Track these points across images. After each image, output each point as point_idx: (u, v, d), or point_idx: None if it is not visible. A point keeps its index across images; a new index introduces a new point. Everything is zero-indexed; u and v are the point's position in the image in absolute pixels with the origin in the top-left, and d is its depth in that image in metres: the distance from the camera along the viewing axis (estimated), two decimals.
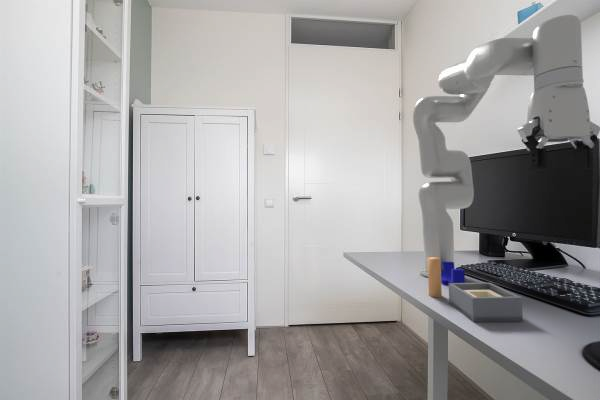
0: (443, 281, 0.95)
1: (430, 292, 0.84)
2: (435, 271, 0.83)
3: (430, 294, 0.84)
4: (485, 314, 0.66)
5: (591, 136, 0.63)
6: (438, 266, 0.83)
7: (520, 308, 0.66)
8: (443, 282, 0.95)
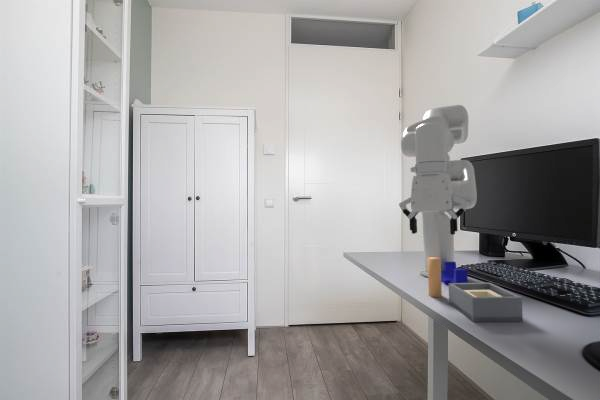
0: (445, 281, 0.95)
1: (430, 292, 0.84)
2: (435, 271, 0.83)
3: (430, 294, 0.84)
4: (485, 314, 0.66)
5: (407, 210, 0.89)
6: (438, 266, 0.83)
7: (520, 308, 0.66)
8: (445, 282, 0.95)
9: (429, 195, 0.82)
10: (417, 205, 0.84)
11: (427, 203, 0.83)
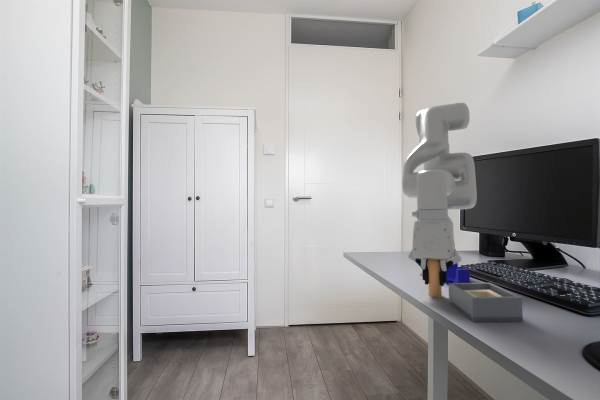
0: (447, 281, 0.95)
1: (430, 292, 0.84)
2: (435, 271, 0.83)
3: (430, 294, 0.84)
4: (485, 314, 0.66)
5: (420, 259, 0.87)
6: (438, 266, 0.83)
7: (520, 308, 0.66)
8: (447, 282, 0.95)
9: (430, 243, 0.83)
10: (419, 251, 0.84)
11: (429, 250, 0.83)
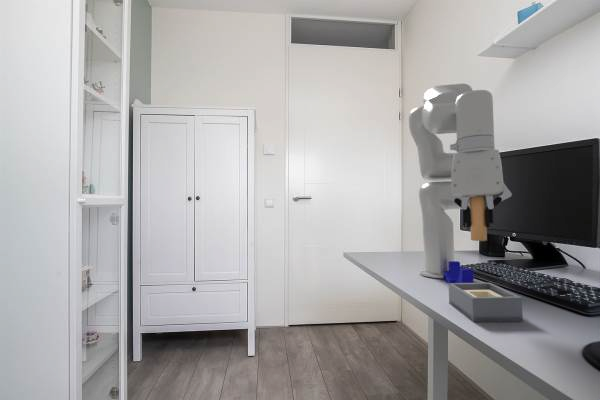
0: (450, 281, 0.95)
1: (473, 235, 0.71)
2: (480, 210, 0.70)
3: (473, 238, 0.71)
4: (485, 314, 0.66)
5: (460, 199, 0.75)
6: (483, 204, 0.71)
7: (520, 308, 0.66)
8: (450, 282, 0.95)
9: (474, 176, 0.70)
10: (460, 188, 0.72)
11: (472, 185, 0.70)
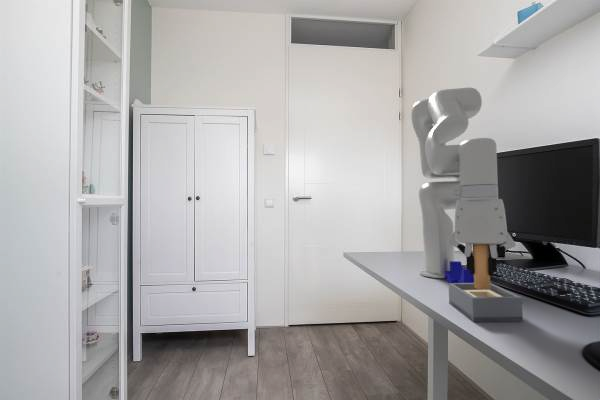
0: (452, 281, 0.95)
1: (476, 283, 0.71)
2: (483, 258, 0.70)
3: (476, 286, 0.71)
4: (485, 314, 0.66)
5: (463, 245, 0.74)
6: (486, 252, 0.70)
7: (520, 308, 0.66)
8: (452, 282, 0.95)
9: (478, 224, 0.69)
10: (463, 235, 0.71)
11: (476, 234, 0.70)
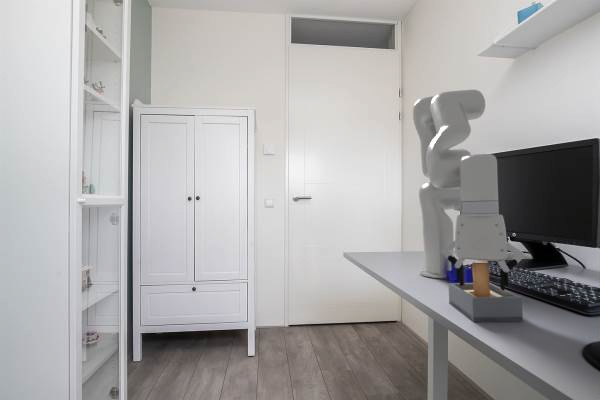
0: (454, 281, 0.95)
1: None
2: (483, 278, 0.70)
3: None
4: (485, 314, 0.66)
5: (453, 256, 0.75)
6: (486, 272, 0.70)
7: (520, 308, 0.66)
8: (454, 282, 0.95)
9: (478, 240, 0.70)
10: (463, 251, 0.71)
11: (476, 250, 0.70)
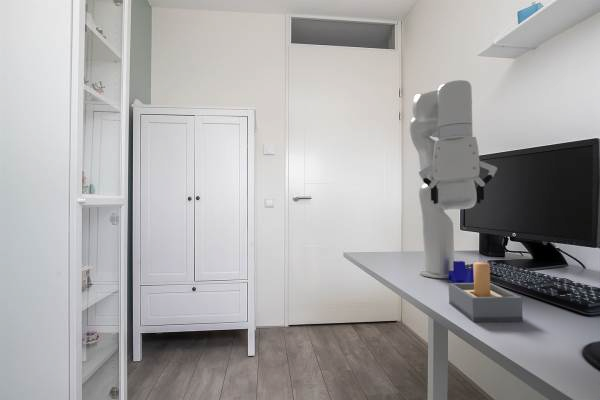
0: (457, 281, 0.95)
1: None
2: (484, 278, 0.70)
3: None
4: (485, 314, 0.66)
5: (428, 178, 0.82)
6: (487, 272, 0.70)
7: (520, 308, 0.66)
8: (457, 282, 0.95)
9: (453, 161, 0.75)
10: (440, 172, 0.77)
11: (452, 170, 0.76)
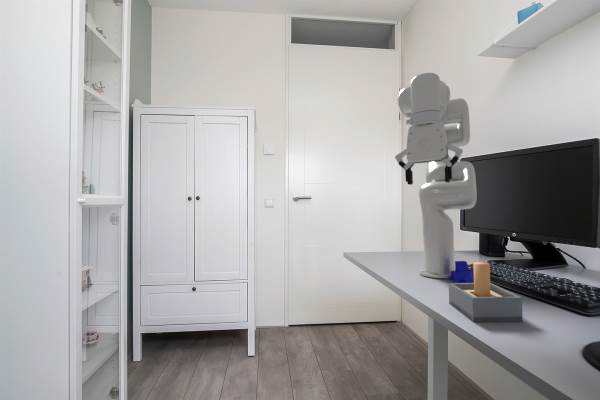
0: (459, 281, 0.95)
1: None
2: (484, 278, 0.70)
3: None
4: (485, 314, 0.66)
5: (403, 162, 0.90)
6: (487, 272, 0.70)
7: (520, 308, 0.66)
8: (459, 282, 0.95)
9: (424, 145, 0.84)
10: (412, 155, 0.86)
11: (422, 152, 0.84)
